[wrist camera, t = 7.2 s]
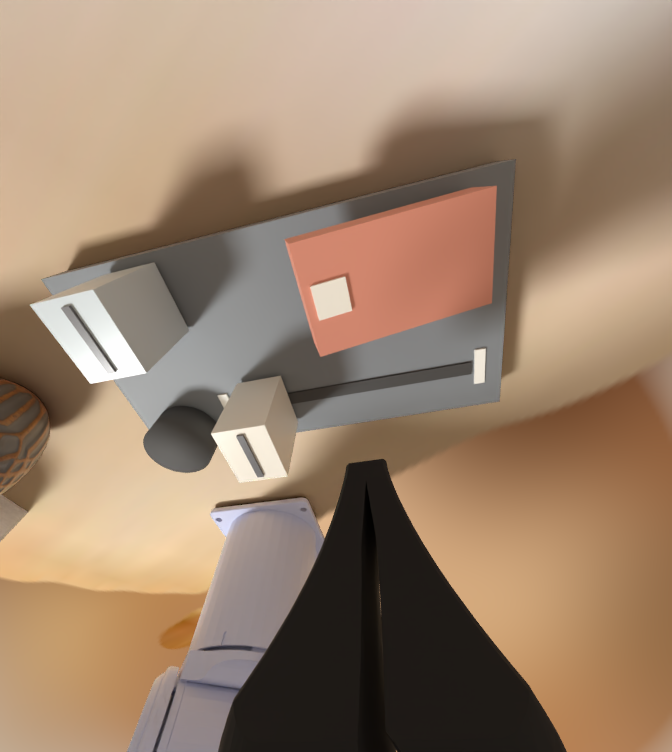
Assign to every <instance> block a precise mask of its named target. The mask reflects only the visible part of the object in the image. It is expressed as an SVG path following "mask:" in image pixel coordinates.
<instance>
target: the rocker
mask: <svg viewBox="0 0 672 752" xmlns="http://www.w3.org/2000/svg"><path fill="white" fill-rule="evenodd" d="M496 194H497V186H486V187H471V188H467V189H464V190H460V191H457V192H453V193H449V194H446V195H442V196H439V197H435V198H431V199H428V200H424V201H421V202H417V203H413V204H410V205H406V206H403V207H399V208H395V209H392V210H388V211H385V212H381V213H377V214H374V215H370V216H367V217H363V218H359V219H356V220H352V221H348V222H345V223H341V224H338V225H334V226H330V227H327V228H323V229H320V230H316V231H312V232H309V233H305V234H302V235H298V236H294V237H291V238H287V239H284V240H285V243H286V247H287V250H288V254H289V257H290V261H291V264H292V268H293V271H294V275H295V278H296V281H297V285H298V288H299V292H300V295H301V299H302V302H303V306H304V309H305V313H306V316H307V319H308V323H309V326H310V330H311V333H312V337H313V340H314V343H315V346H316V348H317V350H318V352H319V355H320V357H322V356H325V355H328V354H332V353H335V352H338V351H341V350H344V349H348V348H351V347H354V346H357V345H360V344H363V343H367V342H370V341H373V340H376V339H379V338H383V337H386V336H389V335H392V334H395V333H398V332H402V331H405V330H408V329H411V328H414V327H418V326H421V325H424V324H427V323H430V322H433V321H437V320H440V319H443V318H446V317H449V316H453V315H456V314H459V313H462V312H465V311H468V310H472V309H475V308H478V307H481V306H484V305H488V304H491V303H492V289H493V265H494V241H495V218H496Z"/></svg>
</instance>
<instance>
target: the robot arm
mask: <svg viewBox="0 0 672 752" xmlns="http://www.w3.org/2000/svg"><path fill="white" fill-rule="evenodd" d="M210 516H211V517H212V519H213V520H214V521H215V523H216V524H217V526H218V527H219V528H220V530H221V531H222V533H223V534H224V535H225V537H226V540H225V543H224V546H223V549H222V552H221V555H220V558H219V561H218V564H217V567H216V570H215V573H214V576H213V579H212V582H211V585H210V588H209V591H208V594H207V597H206V600H205V603H204V606H203V609H202V612H201V615H200V618H199V621H198V624H197V627H196V630H195V633H194V636H193V639H192V642H191V645H190V648H189V651H188V654H187V656H186V658H185V660H184V662H183V664H182V667H181V669H180V671H179V674H178V670H179V667H175V666H169V667H168V668H167V670H166V672H165V673H162V674H161V675H160V676H158V677H157V678H156V679H155V680H154V683H153V686H152V688H151V690H150V693H149V696H148V698H147V701H146V703H145V706H144V708H143V711H142V714H141V716H140V719H139V721H138V724H137V727H136V729H135V732H134V735H133V737H132V740H131V742H130V745H129V748H128V751H127V752H396V750H397V752H566V749H565V747H564V745H563V743H562V741H561V739H560V737H559V735H558V733H557V731H556V729H555V728H554V726H553V724H552V722H551V721H550V719H549V717H548V716H547V714H546V712H545V711H544V709H543V708H542V706H541V704H540V703H539V701H538V700H537V698H536V696H535V695H534V693H533V692H532V690H531V688H530V687H529V685H528V684H527V683H526V681H525V680H524V679H523V678H522V677H521V675H520V674H519V673H518V672H517V671H516V669H515V668H514V667H513V666H512V665H511V664H510V662H509V661H508V660H507V659H506V657H505V656H504V655H503V654H502V652H501V651H500V650H499V649H498V647H497V646H496V645H495V644H494V642H493V641H492V640H491V639H490V637H489V636H488V635H487V634H486V632H485V631H484V630H483V628H482V627H481V626H480V625H479V623H478V622H477V621H476V619H475V618H474V617H473V615H472V614H471V613H470V611H469V610H468V609H467V607H466V606H465V604H464V603H463V602H462V601H461V599H460V598H459V597H458V595H457V594H456V592H455V591H454V589H453V588H452V587H451V585H450V584H449V582H448V581H447V579H446V578H445V577H444V575H443V574H442V572H441V571H440V569H439V568H438V566H437V565H436V563H435V562H434V560H433V558H432V557H431V555H430V554H429V552H428V551H427V549H426V547H425V546H424V544H423V542H422V541H421V539H420V537H419V535H418V534H417V532H416V530H415V529H414V527H413V525H412V523H411V521H410V519H409V517H408V516H407V514H406V512H405V510H404V508H403V506H402V504H401V502H400V500H399V498H398V495H397V493H396V491H395V488H394V486H393V483H392V481H391V478H390V475H389V472H388V468H387V463H386V461H385V460H384V459H378V460H371V461H364V462H357V463H349V464H348V465H347V467H346V473H345V478H344V482H343V486H342V490H341V493H340V497H339V500H338V503H337V506H336V509H335V512H334V515H333V519H332V521H331V524H330V527H329V529H328V532H327V534H326V537H325V538H324V536H323V534H322V531H321V529H320V527H319V524H318V522H317V520H316V517H315V515H314V513H313V510H312V508H311V505H310V503H309V501H308V500H307V499H306V498H293V499H285V500H277V501H269V502H261V503H253V504H245V505H236V506H228V507H220V508H214V509H212V511H211V513H210ZM379 584H380V590H379ZM380 602H381V609H380ZM177 674H178V676H177Z"/></svg>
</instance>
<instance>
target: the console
mask: <svg viewBox="0 0 672 752" xmlns="http://www.w3.org/2000/svg"><path fill="white" fill-rule="evenodd" d="M515 164H516V159H513V160H504V161H497V162H493V163H489V164H485V165H481V166H477V167H473V168H469V169H465V170H461V171H457V172H454V173H450V174H446V175H442V176H438V177H434V178H430V179H426V180H422V181H418V182H414V183H410V184H406V185H402V186H399V187H395V188H391V189H387V190H383V191H379V192H375V193H371V194H367V195H363V196H359V197H355V198H351V199H347V200H344V201H340V202H336V203H332V204H328V205H324V206H320V207H316V208H312V209H308V210H304V211H300V212H296V213H292V214H289V215H285V216H281V217H277V218H273V219H269V220H265V221H261V222H257V223H253V224H249V225H245V226H241V227H237V228H233V229H230V230H226V231H222V232H218V233H214V234H210V235H206V236H202V237H198V238H194V239H190V240H186V241H182V242H178V243H175V244H171V245H167V246H163V247H159V248H155V249H151V250H147V251H143V252H139V253H135V254H131V255H127V256H123V257H120V258H116V259H112V260H108V261H104V262H100V263H96V264H92V265H88V266H84V267H80V268H76V269H72V270H68V271H65V272H62V273H59V274H56V275H53V276H50V277H47V278H44V279H41V280H42V281H43V283H44V284H45V286H46V287H47V288H48V290H49V291H50V293H51V294H52V295H55V294H58V293H60V292H63V291H65V290H68V289H70V288H72V287H75V286H77V285H80V284H82V283H85V282H87V281H90V280H92V279H95V278H97V277H100V276H102V275H105V274H109V273H113V272H117V271H121V270H125V269H129V268H133V267H137V266H141V265H145V264H149V263H153V262H154V263H155V265H156V267H157V269H158V270H159V272H160V274H161V276H162V278H163V280H164V282H165V284H166V286H167V288H168V290H169V292H170V294H171V296H172V298H173V300H174V302H175V304H176V306H177V308H178V309H179V311H180V313H181V315H182V317H183V319H184V321H185V323H186V325H187V327H188V329H189V332H188V333H187V334H186V335H185V336H183V337H182V338H181V339H180V340H179V341H178V342H177V343H176V344H175V345H174V346H173V347H172V348H171V349H170V350H169V351H168V352H167V353H166V354H165V355H164V356H163V357H162V358H161V359H160V360H159V361H158V362H157V363H156V364H155V365H154V366H153V367H152V368H151V369H150V370H149V371H148V372H147V373H144V374H139V375H134V376H128V377H123V378H118V379H113V380H114V382H115V383H116V384H117V386H118V387H119V389H120V390H121V391H122V393H123V394H124V396H125V397H126V398H127V400H128V401H129V403H130V404H131V405H132V407H133V408H134V410H135V411H136V412H137V414H138V415H139V417H140V418H141V419H142V421H143V422H144V423H145V425H146V426H147V428H148V429H150V428H151V427H152V425H153V424H154V423H155V422H156V420H157V419H158V418H159V416H160V415H161V414H162V413H163V412H164V411H165V410H167V409H168V408H171V407H175V406H188V407H193V408H196V409H199V410H201V411H203V412H205V413H206V414H208V415H209V416H210V417H212V418H213V419H214V420H215V422H216V423H217V421H218V419H219V417H220V415H221V413H222V411H223V409H224V407H225V406H226V404H227V402H228V400H229V398H230V396H231V394H232V392H233V390H234V388H235V387H236V385H237V383H243V382H248V381H254V380H259V379H265V378H270V377H276V376H281V378H282V381H283V383H284V386H285V389H286V391H287V394H288V397H289V399H290V402H291V405H292V407H293V410H294V413H295V415H296V418H297V421H298V426H297V431H296V433H297V432H303V431H310V430H316V429H323V428H329V427H336V426H342V425H349V424H355V423H362V422H368V421H375V420H381V419H388V418H394V417H401V416H408V415H414V414H421V413H427V412H434V411H440V410H447V409H453V408H460V407H466V406H473V405H479V404H486V403H492V402H499V401H500V387H501V372H502V357H503V342H504V327H505V312H506V298H507V283H508V268H509V253H510V238H511V223H512V209H513V194H514V179H515ZM486 186H497V194H496V218H495V241H494V265H493V289H492V303H491V304H488V305H484V306H481V307H478V308H475V309H472V310H468V311H465V312H462V313H459V314H456V315H453V316H449V317H446V318H443V319H440V320H437V321H433V322H430V323H427V324H424V325H421V326H418V327H414V328H411V329H408V330H405V331H402V332H398V333H395V334H392V335H389V336H386V337H383V338H379V339H376V340H373V341H370V342H367V343H363V344H360V345H357V346H354V347H351V348H348V349H344V350H341V351H338V352H335V353H332V354H328V355H325V356H322V357H320V355H319V352H318V350H317V348H316V346H315V343H314V340H313V337H312V333H311V330H310V326H309V323H308V319H307V316H306V313H305V309H304V306H303V302H302V299H301V295H300V292H299V288H298V285H297V281H296V278H295V275H294V271H293V268H292V264H291V261H290V257H289V254H288V250H287V247H286V243H285V240H284V239H287V238H291V237H294V236H298V235H302V234H305V233H309V232H312V231H316V230H320V229H323V228H327V227H330V226H334V225H338V224H341V223H345V222H348V221H352V220H356V219H359V218H363V217H367V216H370V215H374V214H377V213H381V212H385V211H388V210H392V209H395V208H399V207H403V206H406V205H410V204H413V203H417V202H421V201H424V200H428V199H431V198H435V197H439V196H442V195H446V194H449V193H453V192H457V191H460V190H464V189H467V188H471V187H486Z"/></svg>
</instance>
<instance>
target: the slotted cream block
mask: <svg viewBox="0 0 672 752" xmlns="http://www.w3.org/2000/svg"><path fill="white" fill-rule="evenodd" d="M297 426H298V421H297V418H296V415H295V413H294V410H293V407H292V405H291V402H290V399H289V397H288V394H287V391H286V389H285V386H284V383H283V381H282V378H281V376H276V377H270V378H265V379H259V380H254V381H248V382H243V383H237V385H236V387H235V388H234V390H233V392H232V394H231V396H230V398H229V400H228V402H227V404H226V406H225V407H224V409H223V411H222V413H221V415H220V417H219V419H218V421H217V423H216V425H215V427H214V428H213V430H212V432H211V435H212V437H213V438H214V440H215V442H216V443H217V445H218V447H219V449H220V450H221V452H222V454H223V455H224V457H225V459H226V461H227V462H228V464H229V466H230V467H231V469H232V471H233V473H234V474H235V476H236V478H237V479H238V481H239V483H242V482H250V481H257V480H265V479H272V478H279V477H287V476H288V472H289V467H290V462H291V457H292V452H293V446H294V441H295V436H296V431H297Z"/></svg>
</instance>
